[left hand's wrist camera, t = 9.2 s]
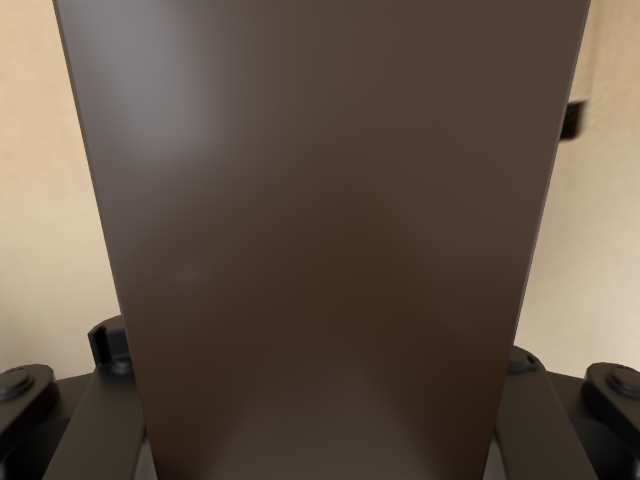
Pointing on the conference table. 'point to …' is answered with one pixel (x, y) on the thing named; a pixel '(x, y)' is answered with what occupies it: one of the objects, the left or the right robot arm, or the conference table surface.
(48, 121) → the conference table surface
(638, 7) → the conference table surface
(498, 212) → the beam
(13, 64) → the conference table surface
